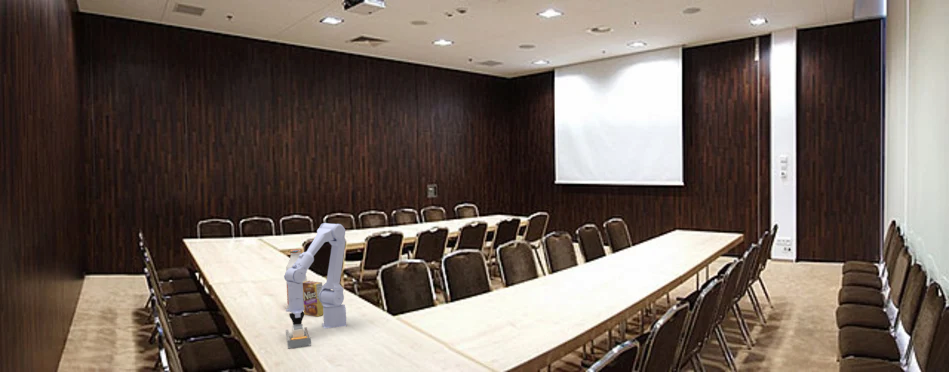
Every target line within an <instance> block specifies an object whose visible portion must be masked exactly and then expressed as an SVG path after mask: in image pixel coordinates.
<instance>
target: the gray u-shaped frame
mask: <svg viewBox="0 0 949 372" xmlns="http://www.w3.org/2000/svg"><path fill="white" fill-rule="evenodd" d="M303 328H304V336H307V338H303V339H296V340H291V338H290V333H289V329H285V337H286V343H287V344H286V345H287V349H288V350H290V349H297V348H306V347H312V337H310V334H309V330H308V327H303Z"/></svg>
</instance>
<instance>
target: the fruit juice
mask: <svg viewBox="0 0 949 372" xmlns="http://www.w3.org/2000/svg"><path fill="white" fill-rule="evenodd" d="M289 253H290V257H289V261H288V263H287V265H286V268H285V270H286V271H287V270H288V269H289V268H292V266H293V264H294V263H295V262H296V261H297V259H298V258H299V255H300V254H302V253H301V249H299V248H298V249H297V248H296V249H291V250H289ZM286 271H285V272H286ZM305 281H308V279H307V276H306V277H305V280H304V281H303V282H305ZM286 300H287V303H286V304H287V309H289V298H288V285H287V284H286Z"/></svg>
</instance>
